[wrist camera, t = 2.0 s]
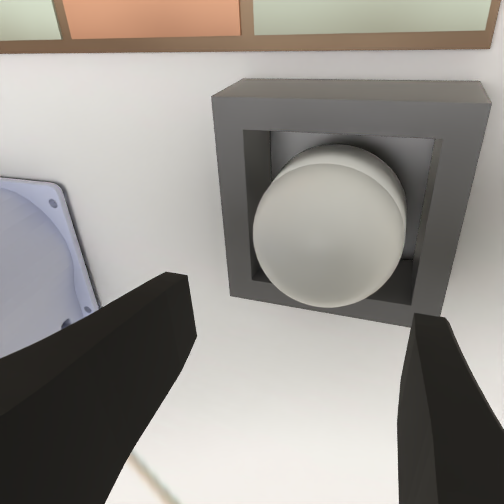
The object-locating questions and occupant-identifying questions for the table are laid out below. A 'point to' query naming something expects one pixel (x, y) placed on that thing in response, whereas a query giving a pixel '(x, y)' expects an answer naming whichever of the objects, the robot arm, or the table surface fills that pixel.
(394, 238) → the dome
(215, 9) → the game track
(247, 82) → the dome housing
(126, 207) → the table surface
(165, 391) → the robot arm
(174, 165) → the table surface
